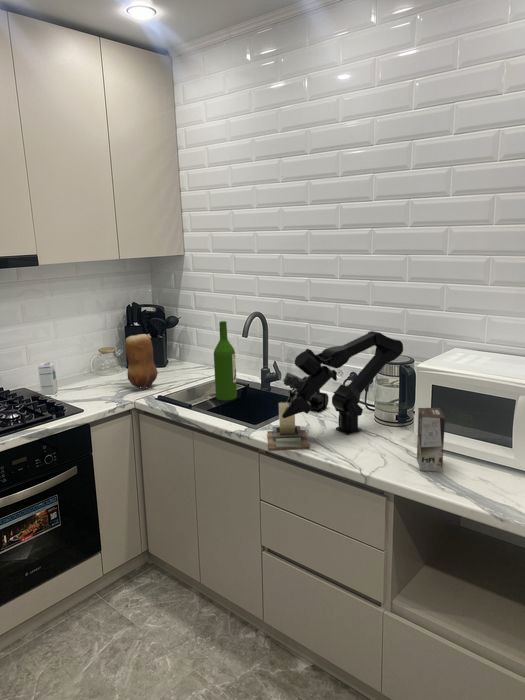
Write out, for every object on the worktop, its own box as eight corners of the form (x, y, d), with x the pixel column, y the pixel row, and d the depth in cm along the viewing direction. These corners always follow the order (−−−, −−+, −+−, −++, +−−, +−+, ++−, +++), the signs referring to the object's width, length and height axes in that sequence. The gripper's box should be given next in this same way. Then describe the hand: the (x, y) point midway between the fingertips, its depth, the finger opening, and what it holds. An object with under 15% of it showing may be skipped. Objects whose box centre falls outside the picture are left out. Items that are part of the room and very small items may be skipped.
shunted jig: (267, 433, 183) (267, 425, 183) (305, 432, 183) (305, 424, 183) (268, 450, 169) (268, 442, 168) (309, 448, 169) (309, 440, 168)
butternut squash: (132, 384, 250) (127, 332, 245) (160, 383, 251) (156, 331, 246) (125, 392, 237) (120, 337, 232) (155, 391, 237) (151, 336, 232)
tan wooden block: (279, 430, 181) (278, 402, 178) (294, 430, 181) (293, 402, 178) (280, 436, 176) (279, 407, 174) (295, 435, 176) (294, 407, 174)
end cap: (328, 408, 208) (328, 391, 206) (320, 413, 202) (320, 396, 201) (306, 404, 213) (306, 387, 212) (297, 409, 208) (297, 392, 206)
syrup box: (55, 396, 234) (51, 365, 231) (41, 397, 233) (37, 365, 230) (58, 393, 240) (54, 362, 237) (44, 394, 239) (40, 362, 236)
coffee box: (443, 472, 150) (445, 417, 146) (419, 471, 151) (421, 417, 148) (438, 458, 159) (440, 407, 155) (416, 457, 160) (417, 406, 156)
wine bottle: (237, 400, 221) (233, 323, 214) (215, 401, 221) (211, 323, 214) (236, 393, 230) (233, 319, 223) (216, 394, 229) (212, 320, 223)
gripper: (295, 358, 182) (264, 390, 185) (299, 372, 164) (265, 407, 166) (318, 379, 184) (287, 411, 186) (325, 396, 166) (291, 430, 168)
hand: (282, 414), depth 177 cm, fingers closed on tan wooden block, 5 cm apart
